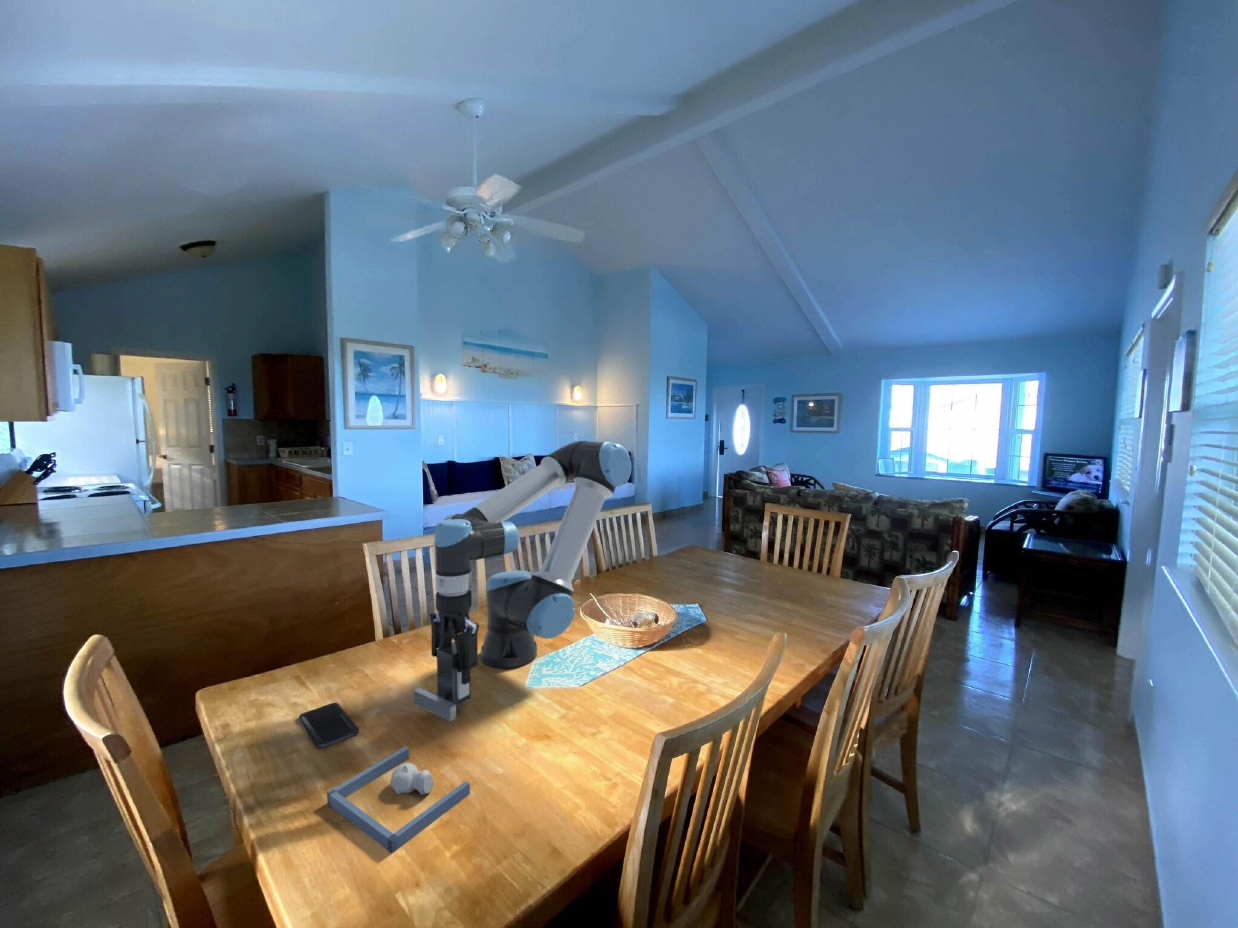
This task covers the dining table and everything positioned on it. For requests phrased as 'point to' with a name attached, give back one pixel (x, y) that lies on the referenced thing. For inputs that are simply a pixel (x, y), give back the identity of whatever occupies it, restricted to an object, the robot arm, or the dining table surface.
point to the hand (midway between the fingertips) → (454, 692)
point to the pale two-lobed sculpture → (411, 779)
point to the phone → (328, 725)
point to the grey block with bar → (443, 686)
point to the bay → (372, 826)
